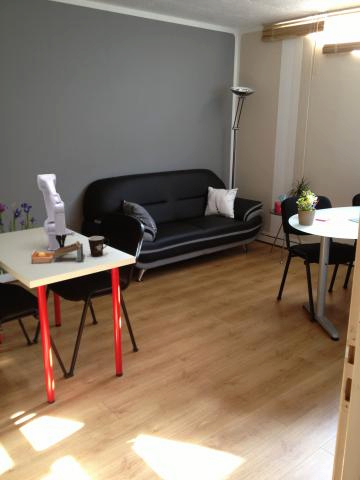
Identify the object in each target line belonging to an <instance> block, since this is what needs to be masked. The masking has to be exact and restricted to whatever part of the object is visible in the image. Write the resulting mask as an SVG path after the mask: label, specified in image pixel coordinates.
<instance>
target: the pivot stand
mask: <svg viewBox="0 0 360 480" xmlns="http://www.w3.org/2000/svg"><path fill="white" fill-rule="evenodd" d="M81 244H82V245H81V248H80V249H77V250H76V258H75V263H83V262H84V260H85V257H86V254H84V246H83V245H84V244H83V243H81Z"/></svg>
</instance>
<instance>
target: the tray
mask: <svg viewBox="0 0 360 480" xmlns="http://www.w3.org/2000/svg"><path fill="white" fill-rule="evenodd" d="M39 253H40V252H38V251H37V248H36V249H33V251H32V253H31V254H30V258H31V259H30V260H31V264H32V265H33V264H39V265H40V264H52V262H53V261H54V259H55V258H54V257H53V256H52V254H54V253H55V252H54V251H51V252H50V251H47V252H45V251H44V252H43V253H45V255H46V257H44V258H38V254H39Z"/></svg>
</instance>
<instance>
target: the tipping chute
mask: <svg viewBox="0 0 360 480" xmlns="http://www.w3.org/2000/svg"><path fill="white" fill-rule="evenodd" d="M82 244H83V243H80V241H79V240H77V241H76V242H75V243H72V244H69V245H67V246H65V245H64V247H63V248H58V249H57V250H53V252H54V254H52V256H53V257H54V258H53V259H55V258H58V257H61V256H63V255H67V254H69V253H72V252H75V251H76V252H77V249H80V248H81V245H82Z"/></svg>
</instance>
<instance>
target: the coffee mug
mask: <svg viewBox="0 0 360 480" xmlns="http://www.w3.org/2000/svg"><path fill="white" fill-rule="evenodd" d="M87 239H88V246H89V251H90V256H91V257H93V258H99V257H102V256H103V254H104V249H105V248H106V247H107V246H108V245H109V244H110V239H109V238H105V237H104V236H100V235H93V236H90V237H88V238H87ZM106 240H107V243H106V245H104V241H106Z"/></svg>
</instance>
